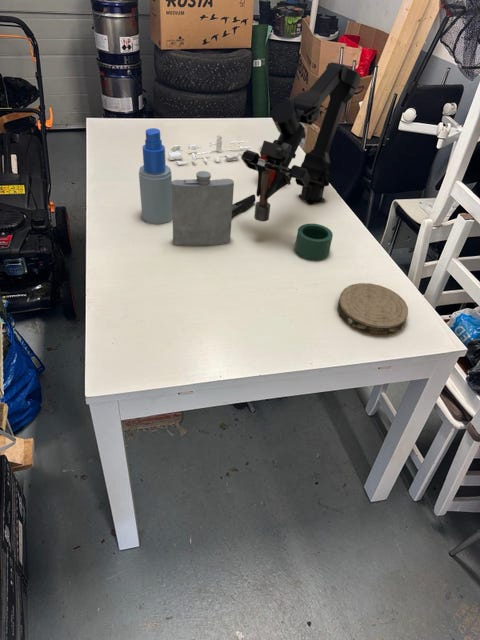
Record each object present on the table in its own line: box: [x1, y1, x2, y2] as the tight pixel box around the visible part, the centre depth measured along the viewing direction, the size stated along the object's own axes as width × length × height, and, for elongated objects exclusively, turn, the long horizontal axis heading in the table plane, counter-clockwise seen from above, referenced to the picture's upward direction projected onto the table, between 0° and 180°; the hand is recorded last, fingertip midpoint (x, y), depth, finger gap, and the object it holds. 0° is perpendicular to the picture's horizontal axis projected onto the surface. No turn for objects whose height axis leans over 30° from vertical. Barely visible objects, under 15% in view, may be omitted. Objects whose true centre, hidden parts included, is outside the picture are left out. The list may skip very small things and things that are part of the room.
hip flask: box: [171, 170, 235, 247], centre depth 121 cm, size 16×4×20 cm, turn 101°
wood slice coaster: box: [336, 282, 409, 337], centre depth 108 cm, size 16×16×3 cm
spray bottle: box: [138, 127, 173, 225], centre depth 128 cm, size 9×9×25 cm
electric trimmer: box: [232, 194, 256, 217], centre depth 142 cm, size 4×16×3 cm, turn 143°
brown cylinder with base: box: [253, 171, 271, 222], centre depth 122 cm, size 4×4×13 cm
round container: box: [294, 223, 334, 262], centre depth 126 cm, size 9×9×6 cm
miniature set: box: [168, 134, 252, 166], centre depth 171 cm, size 6×35×12 cm
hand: (261, 197), depth 121 cm, fingers closed on brown cylinder with base, 2 cm apart
